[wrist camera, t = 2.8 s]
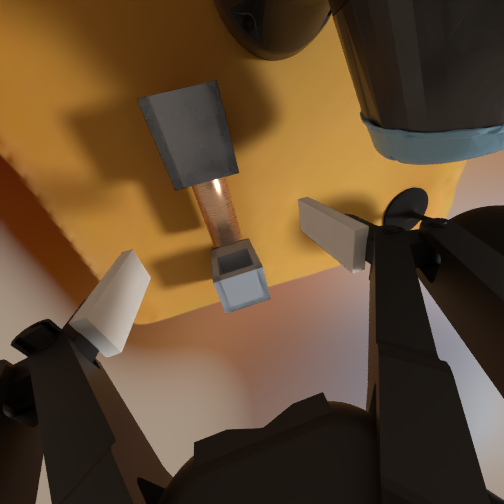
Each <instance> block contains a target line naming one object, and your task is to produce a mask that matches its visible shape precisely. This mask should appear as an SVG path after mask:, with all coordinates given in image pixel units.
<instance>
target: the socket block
mask: <svg viewBox="0 0 504 504" xmlns="http://www.w3.org/2000/svg"><path fill="white" fill-rule="evenodd" d="M211 261H212V274H213V284H214V286H215V288H216V291H217V293H218V295H219V298H220V300H221V302H222V305H223V307H224V309H225V312H226V314H227V313H230V312H233V311H236V310H239V309H242V308H245V307H248V306H251V305H254V304H257V303H260V302H263V301H266V300H268V299H270V295H269V291H268V286H267V282H266V278H265V274H264V270H263V266H262V264H261V262H260V260H259V258H258V256H257V254H256V252H255V250H254V248H253V246H252V244H251V242H250V240H249V239H246V240H243V241H239V242H236V243H234V244H232V245H229V246H225V247H220V248H217V249H213V250H211Z"/></svg>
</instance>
